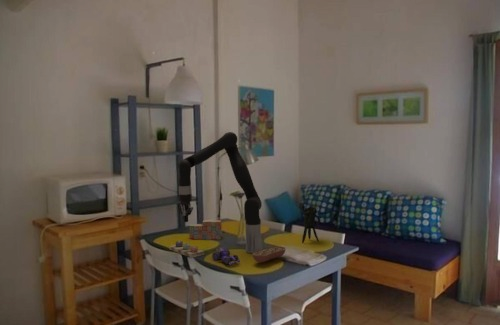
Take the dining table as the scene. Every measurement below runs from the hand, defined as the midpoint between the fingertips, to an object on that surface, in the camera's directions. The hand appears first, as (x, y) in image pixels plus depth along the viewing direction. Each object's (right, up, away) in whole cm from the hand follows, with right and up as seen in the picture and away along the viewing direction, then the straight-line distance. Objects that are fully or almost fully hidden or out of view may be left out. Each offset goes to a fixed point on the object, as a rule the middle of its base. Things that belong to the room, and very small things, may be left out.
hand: (185, 221), depth 242 cm
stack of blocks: (+8, -17, +35) cm, 39 cm away
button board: (0, -19, +1) cm, 19 cm away
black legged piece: (+77, -17, +20) cm, 82 cm away
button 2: (0, -16, +1) cm, 16 cm away
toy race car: (+26, -20, -16) cm, 36 cm away
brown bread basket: (+49, -19, -14) cm, 55 cm away
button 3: (-5, -16, +7) cm, 18 cm away
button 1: (+6, -17, -5) cm, 18 cm away
